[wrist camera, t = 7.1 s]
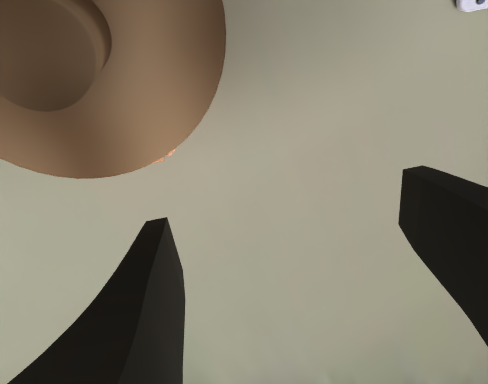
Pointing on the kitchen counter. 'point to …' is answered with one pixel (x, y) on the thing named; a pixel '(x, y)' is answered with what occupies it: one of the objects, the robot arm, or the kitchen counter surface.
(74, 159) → the lid
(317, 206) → the kitchen counter surface
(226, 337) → the kitchen counter surface
